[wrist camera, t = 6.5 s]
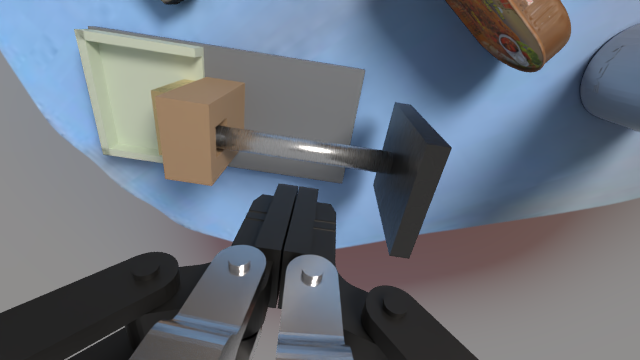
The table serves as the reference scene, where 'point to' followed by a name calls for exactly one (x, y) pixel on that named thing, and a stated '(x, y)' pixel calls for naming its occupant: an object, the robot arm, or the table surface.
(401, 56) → the table surface
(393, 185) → the shaft
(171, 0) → the infrared thermometer
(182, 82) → the spacer
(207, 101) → the shaft rig
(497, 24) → the tin
